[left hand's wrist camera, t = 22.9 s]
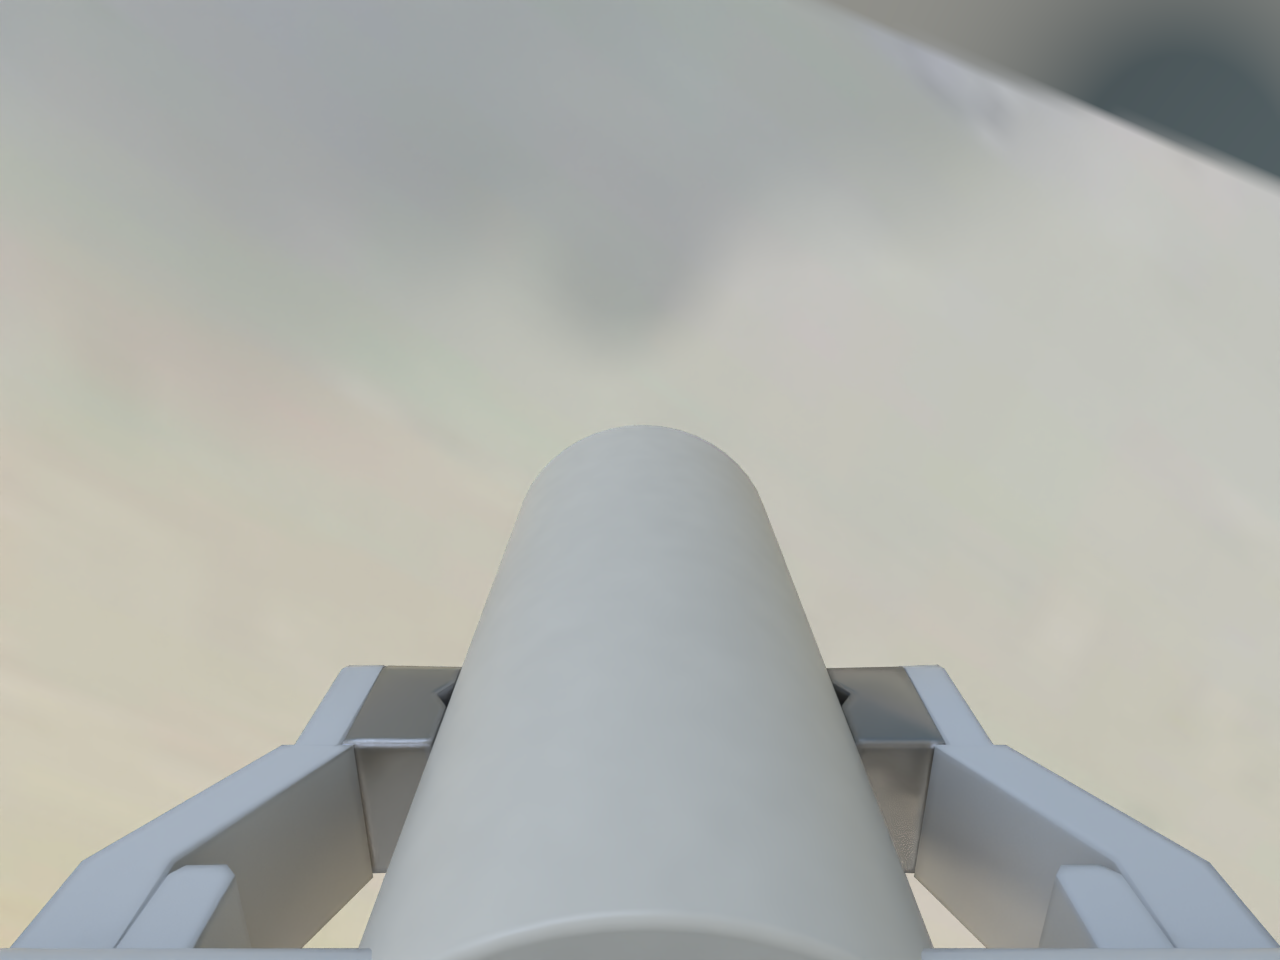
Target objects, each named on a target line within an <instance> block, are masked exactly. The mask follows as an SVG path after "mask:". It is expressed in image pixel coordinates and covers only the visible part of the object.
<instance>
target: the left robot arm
mask: <svg viewBox="0 0 1280 960" xmlns="http://www.w3.org/2000/svg"><path fill="white" fill-rule="evenodd" d="M461 669H462V667H434V666H387V667H386V666H384V665H352V666H347V667H345V668H343V669H342V670H341V671H340V672H339V674H338V676H337V677H336V679H335V680H334V682H333V684H332V685H331V687H330V688H329V690H328V692H327V693H326V695H325V696H324V698H323V700H322V701H321V703H320V704H319V706H318V708H317V709H316V711H315V712H314V714H313V716H312V717H311V719H310V720H309V722H308V724H307V725H306V727H305V728H304V730H303V732H302V733H301V735H300V736H299V738H298V740H297V741H296V743H295V744H294V745H281V746H280V747H278V748H276V749H274V750H273V751H271V752H269V753H268V754H266V755H264V756H262V757H261V758H259V759H257V760H256V761H254V762H252V763H250V764H249V765H247V766H245V767H243V768H242V769H240V770H238V771H237V772H235V773H233V774H231V775H230V776H228V777H226V778H224V779H223V780H221V781H219V782H218V783H216V784H214V785H212V786H211V787H209V788H207V789H206V790H204V791H202V792H200V793H199V794H197V795H195V796H193V797H192V798H190V799H188V800H187V801H185V802H183V803H181V804H180V805H178V806H176V807H174V808H173V809H171V810H169V811H168V812H166V813H164V814H162V815H161V816H159V817H157V818H156V819H154V820H152V821H150V822H149V823H147V824H145V825H143V826H142V827H140V828H138V829H137V830H135V831H133V832H131V833H130V834H128V835H126V836H124V837H123V838H121V839H119V840H118V841H116V842H114V843H112V844H111V845H109V846H107V847H106V848H104V849H102V850H100V851H99V852H97V853H95V854H93V855H92V856H90V857H88V858H87V859H85V860H83V861H82V862H81V863H80V864H79V865H78V866H77V868H76V869H75V870H74V871H73V872H72V874H71V875H70V876H69V877H68V878H67V880H66V881H65V882H64V883H63V884H62V886H61V887H60V888H59V889H58V890H57V892H56V893H55V894H54V895H53V896H52V898H51V899H50V900H49V901H48V902H47V904H46V905H45V906H44V907H43V909H42V910H41V911H40V912H39V913H38V915H37V916H36V917H35V918H34V919H33V921H32V922H31V923H30V924H29V925H28V927H27V928H26V929H25V930H24V931H23V933H22V934H21V935H20V936H19V937H18V939H17V940H16V941H15V942H14V943H13V945H12V946H11V947H10V948H0V960H372V950H371V949H370V948H302V947H303V946H304V945H305V944H306V943H307V942H308V941H309V940H310V939H311V938H312V937H313V936H314V935H315V934H316V933H317V932H318V931H319V930H320V929H321V928H322V927H323V926H324V925H325V924H326V923H327V922H328V921H329V920H331V919H332V918H333V917H334V916H335V915H336V914H337V913H338V912H339V911H340V910H341V909H342V908H343V907H344V906H345V905H346V904H347V903H348V902H349V901H350V900H351V899H352V898H353V897H354V896H355V895H356V894H357V893H358V892H359V891H360V890H361V889H362V888H363V887H364V886H365V885H366V884H367V883H368V882H369V881H370V880H371V879H372V878H373V874H372V873H386V872H387V869H388V867H389V864H390V861H391V858H392V856H393V853H394V850H395V848H396V845H397V842H398V840H399V837H400V834H401V831H402V829H403V826H404V823H405V821H406V818H407V815H408V812H409V810H410V807H411V804H412V802H413V799H414V796H415V793H416V791H417V788H418V785H419V783H420V780H421V777H422V774H423V772H424V769H425V766H426V764H427V761H428V758H429V755H430V753H431V750H432V747H433V745H434V742H435V739H436V736H437V734H438V731H439V728H440V726H441V723H442V720H443V717H444V715H445V712H446V709H447V707H448V704H449V701H450V699H451V696H452V693H453V690H454V688H455V685H456V682H457V680H458V677H459V674H460V671H461ZM826 669H827V672H828V674H829V677H830V680H831V682H832V685H833V687H834V690H835V692H836V695H837V698H838V700H839V703H840V705H841V708H842V711H843V713H844V716H845V718H846V721H847V724H848V726H849V729H850V731H851V734H852V737H853V739H854V742H855V744H856V747H857V750H858V752H859V755H860V757H861V760H862V763H863V765H864V768H865V770H866V773H867V776H868V778H869V781H870V783H871V786H872V789H873V791H874V794H875V796H876V799H877V802H878V804H879V807H880V809H881V812H882V815H883V817H884V820H885V822H886V825H887V828H888V830H889V833H890V835H891V838H892V841H893V843H894V846H895V848H896V851H897V854H898V856H899V859H900V861H901V864H902V867H903V869H904V872H905V873H915V874H914V877H915V878H916V879H917V880H918V881H919V882H920V883H921V884H922V885H923V886H924V887H925V888H926V889H927V890H928V891H929V892H930V893H931V894H932V895H933V896H934V897H935V898H936V899H937V900H938V901H939V902H940V903H941V904H942V905H943V906H944V907H946V908H947V909H948V910H949V911H950V912H951V913H952V914H953V915H954V916H955V917H956V918H957V919H958V920H959V921H960V922H961V923H962V924H963V925H964V926H965V927H966V928H967V929H968V930H969V931H970V932H971V933H972V934H973V935H974V936H975V937H976V938H977V939H978V940H979V941H980V942H981V943H982V944H983V945H984V946H985V947H986V948H924V949H923V951H922V952H921V958H922V960H1280V946H1279V945H1278V943H1277V942H1276V941H1275V940H1274V939H1273V937H1272V936H1271V935H1270V934H1269V933H1268V931H1267V930H1266V929H1265V928H1264V927H1263V925H1262V924H1261V923H1260V922H1259V921H1258V920H1257V918H1256V917H1255V916H1254V915H1253V914H1252V912H1251V911H1250V910H1249V909H1248V908H1247V906H1246V905H1245V904H1244V903H1243V902H1242V900H1241V899H1240V898H1239V897H1238V896H1237V895H1236V893H1235V892H1234V891H1233V890H1232V889H1231V887H1230V886H1229V885H1228V884H1227V883H1226V881H1225V880H1224V879H1223V878H1222V877H1221V876H1220V874H1219V873H1218V872H1217V871H1216V870H1215V868H1214V867H1213V866H1212V865H1211V864H1210V863H1209V862H1208V861H1206V860H1204V859H1203V858H1201V857H1199V856H1197V855H1196V854H1194V853H1192V852H1190V851H1189V850H1187V849H1185V848H1183V847H1182V846H1180V845H1178V844H1177V843H1175V842H1173V841H1171V840H1170V839H1168V838H1166V837H1164V836H1163V835H1161V834H1159V833H1157V832H1156V831H1154V830H1152V829H1151V828H1149V827H1147V826H1145V825H1144V824H1142V823H1140V822H1138V821H1137V820H1135V819H1133V818H1131V817H1130V816H1128V815H1126V814H1125V813H1123V812H1121V811H1119V810H1118V809H1116V808H1114V807H1112V806H1111V805H1109V804H1107V803H1105V802H1104V801H1102V800H1100V799H1098V798H1097V797H1095V796H1093V795H1092V794H1090V793H1088V792H1086V791H1085V790H1083V789H1081V788H1079V787H1078V786H1076V785H1074V784H1072V783H1071V782H1069V781H1067V780H1066V779H1064V778H1062V777H1060V776H1059V775H1057V774H1055V773H1053V772H1052V771H1050V770H1048V769H1046V768H1045V767H1043V766H1041V765H1040V764H1038V763H1036V762H1034V761H1033V760H1031V759H1029V758H1027V757H1026V756H1024V755H1022V754H1020V753H1019V752H1017V751H1015V750H1013V749H1012V748H1010V747H1008V746H1007V745H993V743H992V742H991V740H990V739H989V737H988V735H987V734H986V732H985V731H984V729H983V728H982V726H981V725H980V723H979V722H978V720H977V718H976V717H975V715H974V714H973V712H972V711H971V709H970V708H969V706H968V705H967V703H966V701H965V700H964V698H963V697H962V695H961V694H960V692H959V691H958V689H957V688H956V686H955V684H954V683H953V681H952V680H951V678H950V677H949V675H948V674H947V672H946V671H945V669H944V668H942V667H941V666H939V665H918V666H899V667H860V668H826Z"/></svg>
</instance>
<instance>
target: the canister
mask: <svg viewBox="0 0 1280 960" xmlns="http://www.w3.org/2000/svg"><path fill="white" fill-rule="evenodd" d="M359 948H370V949H371V950H372V960H922V958H921V952H922V951H923V949H924V948H934V947H933V945H932V942H931V939H930V937H929V934H928V932H927V929H926V926H925V924H924V921H923V919H922V916H921V913H920V911H919V908H918V906H917V903H916V900H915V898H914V895H913V893H912V890H911V887H910V885H909V882H908V880H907V877H906V874H905V872H904V869H903V867H902V864H901V861H900V859H899V856H898V854H897V851H896V848H895V846H894V843H893V841H892V838H891V835H890V833H889V830H888V828H887V825H886V822H885V820H884V817H883V815H882V812H881V809H880V807H879V804H878V802H877V799H876V796H875V794H874V791H873V789H872V786H871V783H870V781H869V778H868V776H867V773H866V770H865V768H864V765H863V763H862V760H861V757H860V755H859V752H858V750H857V747H856V744H855V742H854V739H853V737H852V734H851V731H850V729H849V726H848V724H847V721H846V718H845V716H844V713H843V711H842V708H841V705H840V703H839V700H838V698H837V695H836V692H835V690H834V687H833V685H832V682H831V680H830V677H829V674H828V672H827V669H826V667H825V664H824V661H823V659H822V656H821V654H820V651H819V648H818V646H817V643H816V641H815V638H814V635H813V633H812V630H811V628H810V625H809V622H808V620H807V617H806V615H805V612H804V609H803V607H802V604H801V602H800V599H799V596H798V594H797V591H796V589H795V586H794V583H793V581H792V578H791V576H790V573H789V570H788V568H787V565H786V563H785V560H784V557H783V555H782V552H781V550H780V547H779V544H778V542H777V539H776V537H775V534H774V531H773V529H772V526H771V524H770V521H769V518H768V516H767V513H766V511H765V508H764V505H763V503H762V501H761V498H760V496H759V494H758V492H757V490H756V488H755V486H754V485H753V483H752V482H751V480H750V479H749V477H748V476H747V474H746V473H745V472H744V471H743V470H742V469H741V467H740V466H739V465H738V464H737V463H736V462H735V461H734V460H733V459H731V458H730V457H729V456H728V455H727V454H726V453H725V452H723V451H722V450H720V449H719V448H717V447H716V446H714V445H713V444H711V443H709V442H707V441H705V440H703V439H701V438H699V437H697V436H695V435H692V434H689V433H686V432H684V431H681V430H676V429H672V428H667V427H662V426H649V425H638V426H625V427H619V428H613V429H609V430H605V431H602V432H599V433H596V434H593V435H591V436H588V437H586V438H584V439H582V440H580V441H578V442H576V443H574V444H573V445H571V446H570V447H568V448H566V449H565V450H563V451H562V452H561V453H560V454H558V455H557V456H556V457H555V458H554V459H552V460H551V461H550V462H549V463H548V464H547V466H546V467H545V468H544V469H543V470H542V471H541V472H540V473H539V475H538V476H537V478H536V479H535V481H534V482H533V483H532V485H531V486H530V488H529V490H528V492H527V494H526V496H525V498H524V501H523V503H522V506H521V509H520V511H519V514H518V517H517V520H516V522H515V525H514V528H513V530H512V533H511V536H510V539H509V541H508V544H507V547H506V549H505V552H504V555H503V558H502V560H501V563H500V566H499V568H498V571H497V574H496V576H495V579H494V582H493V585H492V587H491V590H490V593H489V595H488V598H487V601H486V604H485V606H484V609H483V612H482V614H481V617H480V620H479V623H478V625H477V628H476V631H475V633H474V636H473V639H472V642H471V644H470V647H469V650H468V652H467V655H466V658H465V661H464V663H463V666H462V669H461V671H460V674H459V677H458V680H457V682H456V685H455V688H454V690H453V693H452V696H451V699H450V701H449V704H448V707H447V709H446V712H445V715H444V717H443V720H442V723H441V726H440V728H439V731H438V734H437V736H436V739H435V742H434V745H433V747H432V750H431V753H430V755H429V758H428V761H427V764H426V766H425V769H424V772H423V774H422V777H421V780H420V783H419V785H418V788H417V791H416V793H415V796H414V799H413V802H412V804H411V807H410V810H409V812H408V815H407V818H406V821H405V823H404V826H403V829H402V831H401V834H400V837H399V840H398V842H397V845H396V848H395V850H394V853H393V856H392V858H391V861H390V864H389V867H388V869H387V872H386V875H385V877H384V880H383V883H382V886H381V888H380V891H379V894H378V896H377V899H376V902H375V905H374V907H373V910H372V913H371V915H370V918H369V921H368V924H367V926H366V929H365V932H364V934H363V937H362V940H361V943H360V945H359Z"/></svg>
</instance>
